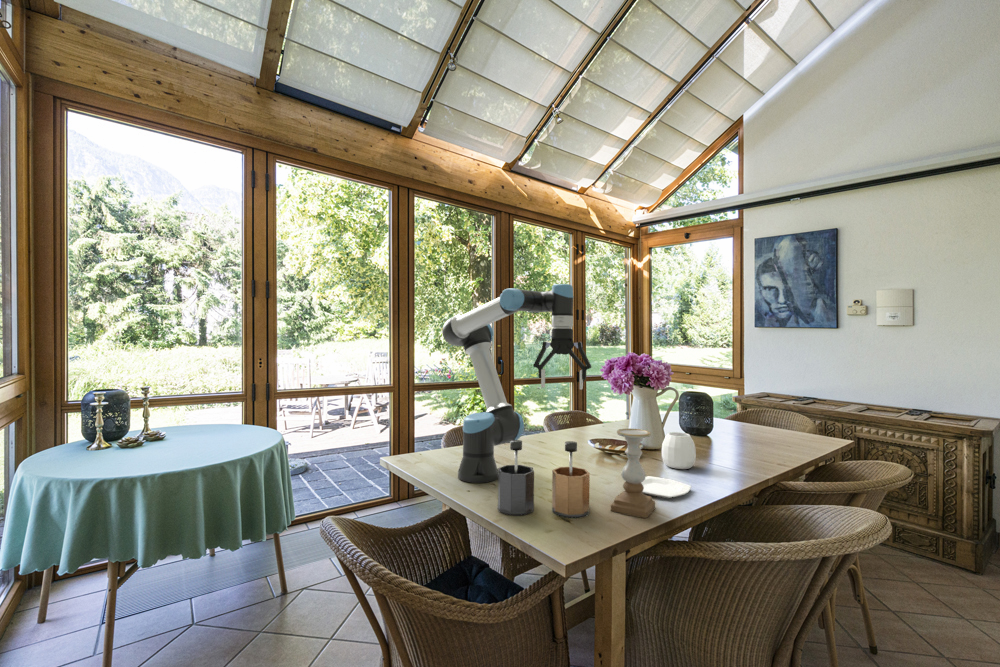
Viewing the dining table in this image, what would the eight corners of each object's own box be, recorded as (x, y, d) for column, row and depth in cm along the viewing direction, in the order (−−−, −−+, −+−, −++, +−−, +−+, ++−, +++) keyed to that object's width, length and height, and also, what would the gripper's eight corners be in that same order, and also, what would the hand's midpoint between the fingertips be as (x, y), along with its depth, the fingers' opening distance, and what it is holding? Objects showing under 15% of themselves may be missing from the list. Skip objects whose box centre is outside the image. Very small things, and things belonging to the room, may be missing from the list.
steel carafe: (490, 509, 141) (490, 470, 141) (516, 497, 152) (517, 461, 152) (519, 518, 134) (520, 477, 134) (545, 505, 145) (545, 467, 145)
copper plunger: (552, 504, 140) (552, 442, 140) (565, 497, 146) (566, 438, 146) (575, 511, 135) (576, 447, 135) (588, 503, 141) (589, 442, 141)
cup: (666, 460, 199) (666, 429, 199) (699, 466, 191) (699, 433, 191) (657, 467, 188) (657, 434, 188) (691, 473, 181) (691, 439, 181)
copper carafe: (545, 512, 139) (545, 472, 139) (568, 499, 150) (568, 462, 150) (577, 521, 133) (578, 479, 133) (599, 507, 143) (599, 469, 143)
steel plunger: (497, 502, 141) (498, 441, 141) (513, 495, 148) (513, 437, 148) (518, 508, 136) (519, 445, 136) (533, 501, 143) (534, 440, 143)
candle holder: (646, 518, 135) (647, 436, 135) (610, 511, 141) (610, 432, 141) (655, 507, 144) (656, 430, 145) (621, 500, 150) (621, 426, 150)
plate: (646, 479, 174) (646, 473, 174) (698, 491, 161) (698, 485, 161) (619, 490, 161) (620, 485, 161) (673, 505, 147) (673, 499, 147)
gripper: (525, 327, 164) (524, 387, 164) (596, 328, 156) (596, 391, 156) (530, 328, 171) (530, 385, 171) (599, 328, 163) (598, 388, 163)
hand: (561, 388), depth 163 cm, fingers open, 13 cm apart
